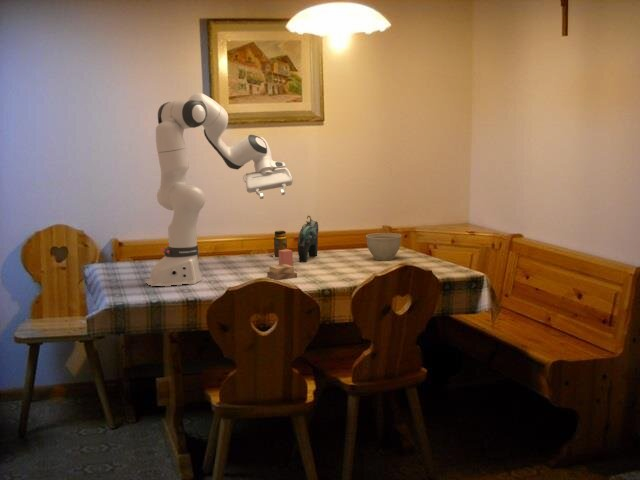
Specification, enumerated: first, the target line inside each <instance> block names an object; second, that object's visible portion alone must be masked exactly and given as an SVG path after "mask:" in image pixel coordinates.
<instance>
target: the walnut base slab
mask: <svg viewBox="0 0 640 480" xmlns="http://www.w3.org/2000/svg"><path fill="white" fill-rule="evenodd" d="M266 274H267V277H268V278H270V279H273V280H276V281H280V280H281V281H282V280H287V279H296V278H298V272H295V271H294V273H289V274H280V275H276V274H274V273H271V272H269V271H267V273H266Z"/></svg>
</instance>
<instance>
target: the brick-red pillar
mask: <svg viewBox="0 0 640 480" xmlns="http://www.w3.org/2000/svg"><path fill="white" fill-rule="evenodd" d="M293 251H294V250H291V249H289V248H287V249H286V250H279V258H278V265H283V264H287V265H290V266H293V267H294V256H293V254H294V252H293Z"/></svg>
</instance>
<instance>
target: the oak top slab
mask: <svg viewBox="0 0 640 480" xmlns="http://www.w3.org/2000/svg"><path fill="white" fill-rule="evenodd" d="M268 267H269V269H268V270H269V271H268V272H271V273H274V274H276V275H280V274H289V273H294V272H295V267H294V265H293V266H290V265H287V264H283V265H279V264H275V265H269V266H268Z"/></svg>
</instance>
